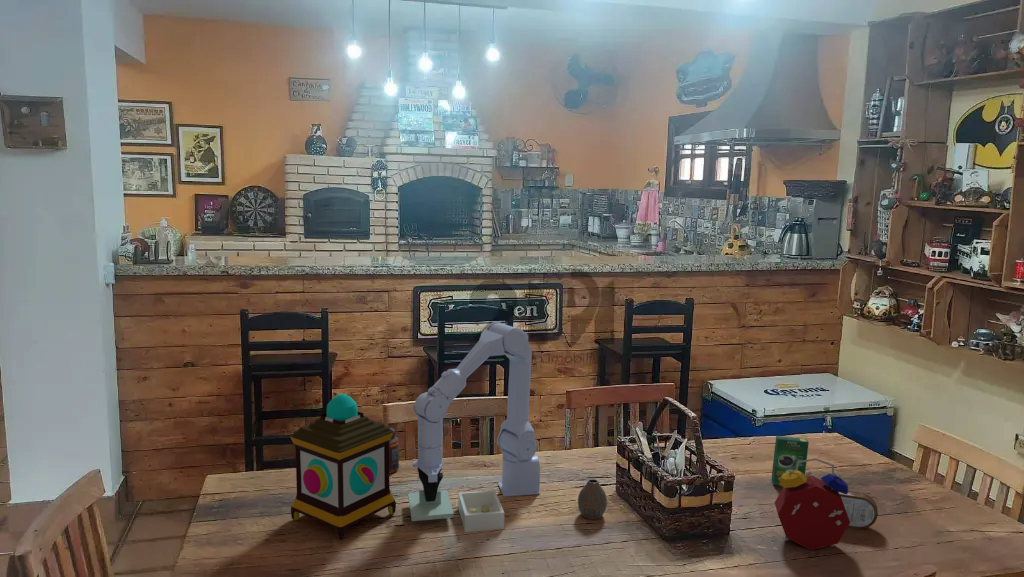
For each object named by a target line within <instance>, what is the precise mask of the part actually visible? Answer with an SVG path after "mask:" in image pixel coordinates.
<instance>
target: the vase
mask: <svg viewBox="0 0 1024 577" xmlns="http://www.w3.org/2000/svg"><path fill="white" fill-rule="evenodd" d="M578 493H579V494H578V496H577V497H578V498H577V506H578V510H579V512H580V513H581V515H582V516H583V517H584V518H586V519H588V520H597V519H600V518H602V516H604V515H605V512H606V509H607V506H608V498H607V494H606V491H605V489H603V487H602V486H601V484H600V482H599V480H597V479H595V478H591V479H588V481H587V482H586V484H585V485H584V486H583V487H582V488H581V489H580V491H579V492H578Z"/></svg>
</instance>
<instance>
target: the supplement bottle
mask: <svg viewBox="0 0 1024 577" xmlns="http://www.w3.org/2000/svg"><path fill="white" fill-rule="evenodd" d="M389 428H390V429H391V430H393V432H394V433H393V435H392V437H391V439H390V442H389V474H392V473H395V472H397V471H398V470H399V469H400V459H399V457H400V455H399V454H400V453H399V452H400V450H399V449H400V448H399V438H398V436H396V432H395V429H394V428H392V427H389Z"/></svg>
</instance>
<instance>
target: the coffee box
mask: <svg viewBox="0 0 1024 577" xmlns="http://www.w3.org/2000/svg"><path fill="white" fill-rule="evenodd" d="M774 443H775V444H774V453H773V460H772V461H773V463H772V471H771V484H772V486H779V487H781V486H780V485H779V483H780V480H781V477H782V475H783V474H784V473H786V472H788V471H789V469H790V470H791V471H793V470H795V469H796V465H797V461H802V460H808V453H809V452H808V450H809V441H808V439H807V438H803V437H802V438H801V437H791V436H783V435H776V436H775V442H774ZM806 468H807V462H801V463H799V466H798V471H800V472H802V473H803V474H804V475H806Z"/></svg>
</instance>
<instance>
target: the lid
mask: <svg viewBox="0 0 1024 577" xmlns="http://www.w3.org/2000/svg"><path fill="white" fill-rule="evenodd" d="M407 496H408V498H407V499H408V506H409V512H410V519H411V522H417V521H429V520H431V521H432V520H437V519H438V520H440V519H452V518H454V510H453V507H452V502H451V499H450V495H449V492H448V490H447V489H443V490H441V488H438V490H437V495H436V499H435V501H430V502H426V499H425V494H424V489H422V490H418V492H409V493H407Z"/></svg>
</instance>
